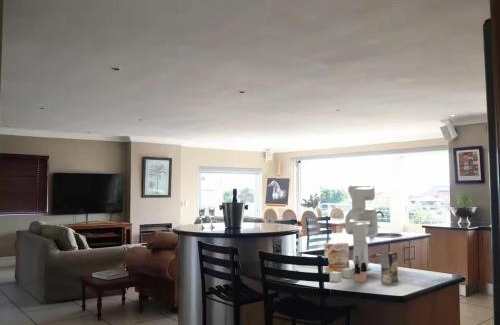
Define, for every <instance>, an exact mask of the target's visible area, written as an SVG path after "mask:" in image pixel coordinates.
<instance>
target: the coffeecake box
mask: <svg viewBox="0 0 500 325" xmlns="http://www.w3.org/2000/svg"><path fill="white" fill-rule="evenodd" d="M323 246H324V258H325V257H326V258H328V260H329V266H328V267H325V266H324V272H325V273H326V274H328V273H331V272H341V274H342V269H344V268H350V245H349V243H347V242H325V243H324V245H323Z"/></svg>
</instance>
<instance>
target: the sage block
mask: <svg viewBox="0 0 500 325" xmlns="http://www.w3.org/2000/svg"><path fill="white" fill-rule="evenodd" d="M341 274H342V278H349V279H351V278H354V269H352V268H350V267H349V268H344V269H342V273H341Z"/></svg>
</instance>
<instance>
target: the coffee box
mask: <svg viewBox="0 0 500 325" xmlns="http://www.w3.org/2000/svg"><path fill="white" fill-rule="evenodd" d="M380 266H381V268H380V269H381V271H380V272H381V275H380V276H381V277H382V274H391V282H393V281H396V280H398V279H399V273H398V272H399V270H398V268H399V266H398V252H394V251H387V252H380Z"/></svg>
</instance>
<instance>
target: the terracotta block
mask: <svg viewBox="0 0 500 325" xmlns="http://www.w3.org/2000/svg"><path fill="white" fill-rule="evenodd" d="M354 274H355V273H354ZM354 276H355V278H354V279H355V280H354V281H355V282H357V283H358V282H360V283H365V282H366V281H368V280H367V272H362V271H360V274H355V275H354Z"/></svg>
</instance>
